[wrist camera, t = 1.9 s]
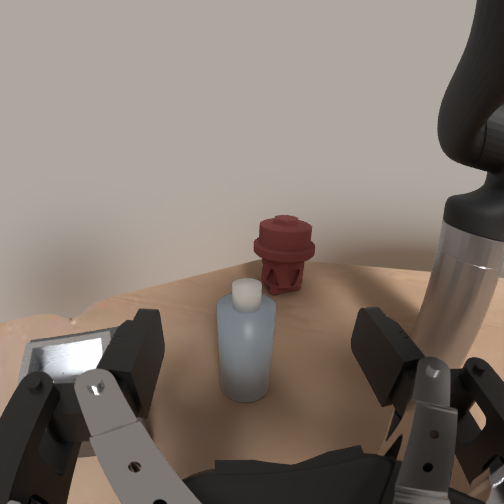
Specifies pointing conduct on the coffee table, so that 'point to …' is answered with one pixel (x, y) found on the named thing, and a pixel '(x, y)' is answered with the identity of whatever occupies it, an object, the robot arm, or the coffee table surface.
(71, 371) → the square grey open box
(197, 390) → the coffee table surface
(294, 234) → the mechanical component
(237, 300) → the pale blue squeeze bottle
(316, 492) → the robot arm
